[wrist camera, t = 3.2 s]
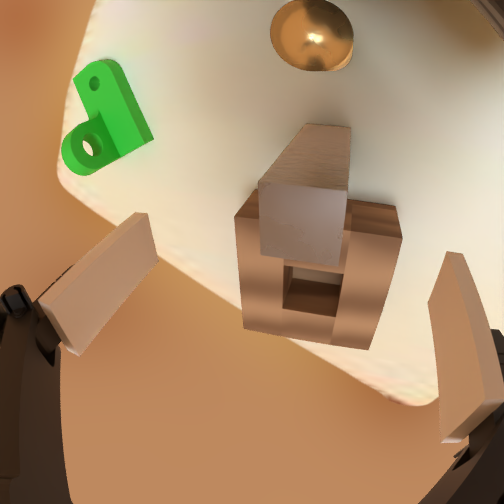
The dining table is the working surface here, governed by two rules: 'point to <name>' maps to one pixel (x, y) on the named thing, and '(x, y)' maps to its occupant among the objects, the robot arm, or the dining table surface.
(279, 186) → the square bit
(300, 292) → the bore block
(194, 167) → the dining table surface
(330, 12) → the round bit
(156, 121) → the dining table surface
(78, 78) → the mechanical part
